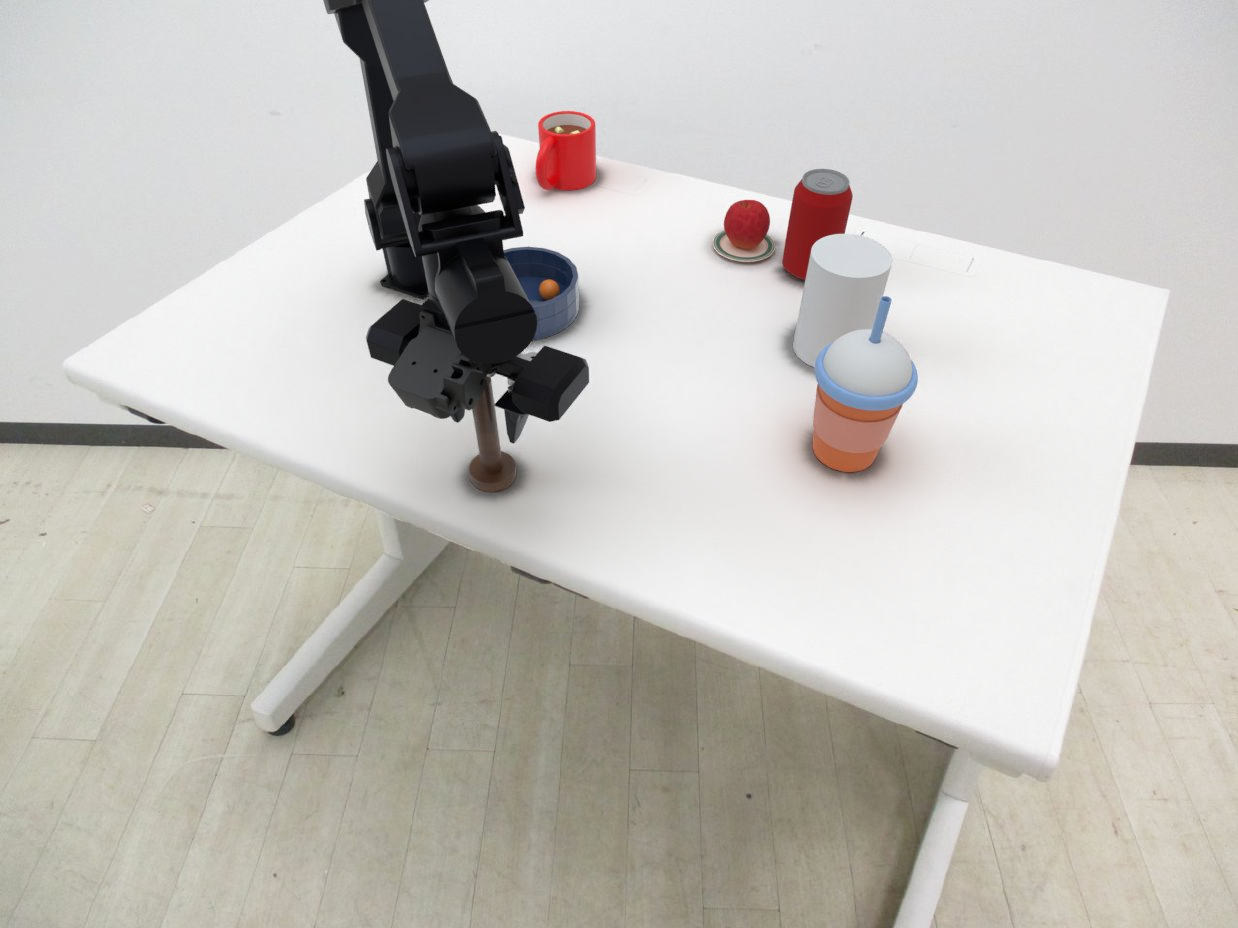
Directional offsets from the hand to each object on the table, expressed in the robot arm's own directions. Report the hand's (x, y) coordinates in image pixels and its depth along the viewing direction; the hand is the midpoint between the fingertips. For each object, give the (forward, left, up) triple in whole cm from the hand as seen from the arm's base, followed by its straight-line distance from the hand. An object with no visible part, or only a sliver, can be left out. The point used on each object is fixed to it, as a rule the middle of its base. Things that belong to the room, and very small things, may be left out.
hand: (486, 429), depth 77 cm
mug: (-22, +52, -6) cm, 57 cm away
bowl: (-11, +24, -6) cm, 28 cm away
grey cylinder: (+23, +33, -6) cm, 41 cm away
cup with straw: (+29, +18, -6) cm, 35 cm away
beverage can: (+16, +47, -6) cm, 51 cm away
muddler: (0, 0, -6) cm, 6 cm away
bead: (-9, +26, -4) cm, 28 cm away
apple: (+7, +48, -6) cm, 49 cm away
